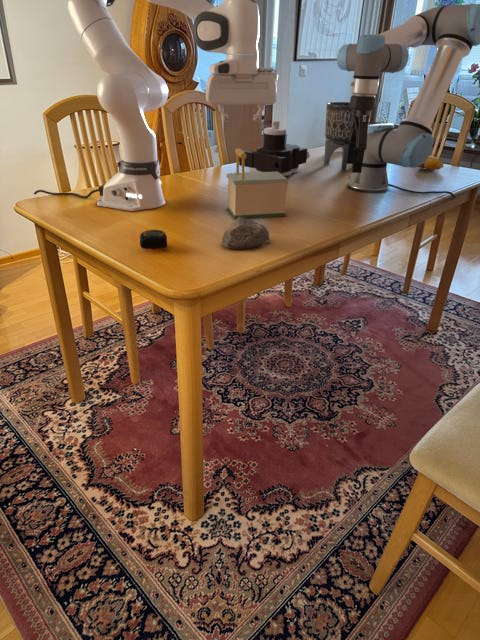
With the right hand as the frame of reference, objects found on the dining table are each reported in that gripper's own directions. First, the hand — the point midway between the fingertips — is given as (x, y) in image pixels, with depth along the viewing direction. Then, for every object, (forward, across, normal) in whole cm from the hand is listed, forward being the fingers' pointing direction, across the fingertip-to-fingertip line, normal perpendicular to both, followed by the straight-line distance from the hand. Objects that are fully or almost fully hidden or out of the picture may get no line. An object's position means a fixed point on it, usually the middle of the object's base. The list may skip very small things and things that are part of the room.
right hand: (353, 168), depth 147 cm
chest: (+13, +10, -31) cm, 35 cm away
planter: (+13, -67, +6) cm, 68 cm away
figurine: (+13, -108, +10) cm, 109 cm away
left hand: (-14, +12, -36) cm, 40 cm away
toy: (+13, -68, +45) cm, 83 cm away
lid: (+3, +10, -31) cm, 33 cm away
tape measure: (+13, +45, -55) cm, 72 cm away
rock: (+13, +39, -32) cm, 52 cm away
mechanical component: (+13, -48, -23) cm, 55 cm away
